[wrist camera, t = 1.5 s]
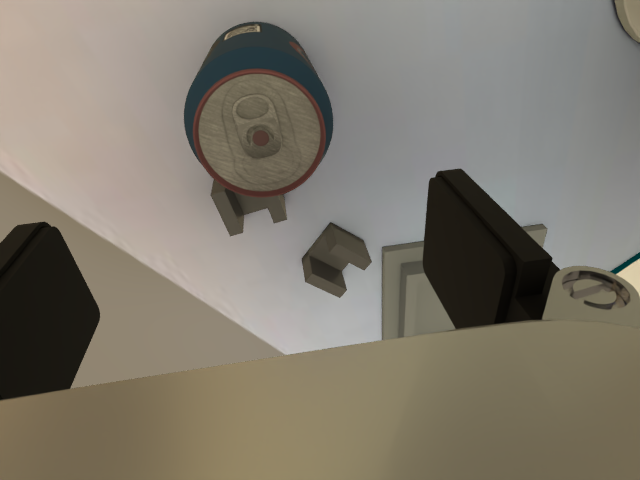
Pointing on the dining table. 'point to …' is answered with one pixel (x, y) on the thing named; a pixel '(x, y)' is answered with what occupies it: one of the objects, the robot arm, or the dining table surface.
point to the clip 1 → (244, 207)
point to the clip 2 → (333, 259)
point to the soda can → (258, 112)
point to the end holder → (416, 291)
